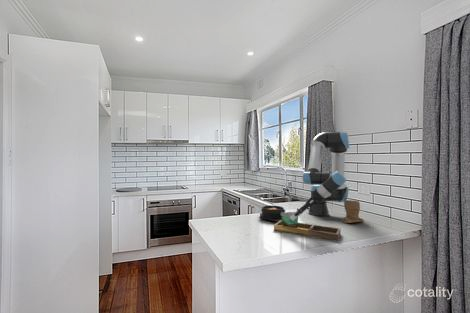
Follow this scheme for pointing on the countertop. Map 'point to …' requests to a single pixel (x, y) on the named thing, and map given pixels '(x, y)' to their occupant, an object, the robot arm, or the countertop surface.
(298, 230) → the walnut divided tray
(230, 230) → the countertop surface
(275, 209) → the casserole
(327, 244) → the countertop surface
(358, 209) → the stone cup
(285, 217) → the food container
